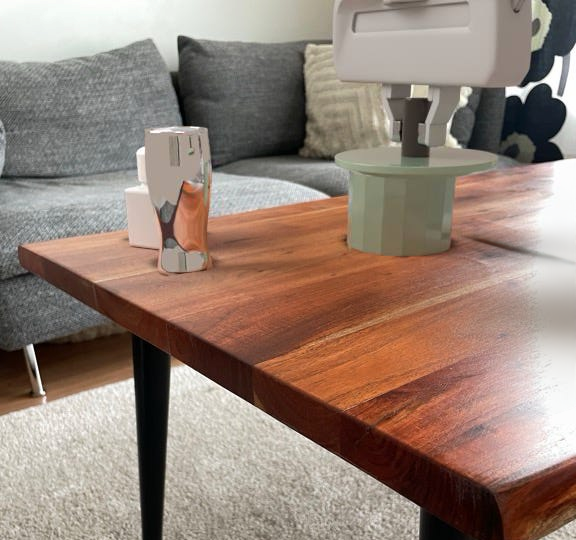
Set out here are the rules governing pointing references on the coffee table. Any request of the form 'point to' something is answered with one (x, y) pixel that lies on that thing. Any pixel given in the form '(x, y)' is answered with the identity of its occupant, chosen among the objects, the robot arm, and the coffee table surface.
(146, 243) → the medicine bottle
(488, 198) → the coffee table surface
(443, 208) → the tin
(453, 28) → the robot arm
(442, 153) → the lid
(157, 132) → the beer glass
